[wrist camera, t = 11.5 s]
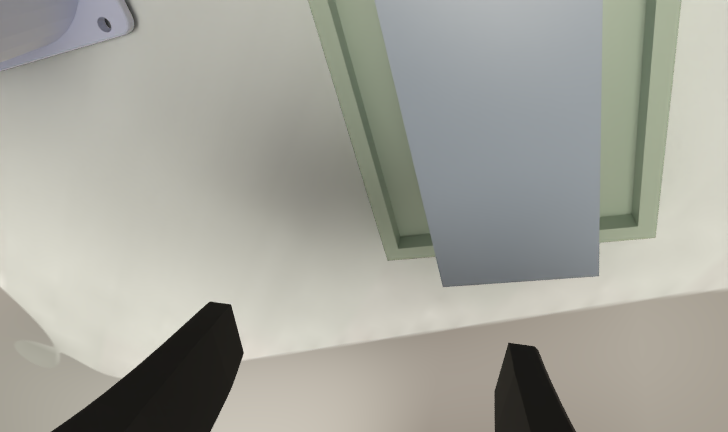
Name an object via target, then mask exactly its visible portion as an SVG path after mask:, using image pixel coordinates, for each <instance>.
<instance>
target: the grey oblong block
mask: <svg viewBox="0 0 728 432" xmlns="http://www.w3.org/2000/svg"><path fill="white" fill-rule="evenodd" d="M375 5H376V9H377V13H378V17H379V21H380V26H381V30H382V34H383V38H384V42H385V46H386V51H387V55H388V59H389V63H390V67H391V72H392V76H393V80H394V84H395V88H396V92H397V97H398V101H399V105H400V109H401V113H402V118H403V122H404V126H405V130H406V134H407V138H408V143H409V147H410V151H411V155H412V159H413V164H414V168H415V172H416V176H417V180H418V185H419V189H420V193H421V197H422V201H423V205H424V210H425V214H426V218H427V222H428V226H429V231H430V235H431V239H432V243H433V247H434V251H435V256H436V260H437V264H438V268H439V272H440V277H441V281H442V285H443V287H450V286H465V285H479V284H493V283H508V282H522V281H536V280H551V279H565V278H579V277H593V276H599V225H600V155H601V86H602V17H603V0H375Z"/></svg>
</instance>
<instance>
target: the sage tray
mask: <svg viewBox="0 0 728 432" xmlns="http://www.w3.org/2000/svg"><path fill="white" fill-rule="evenodd" d="M308 2H309V5H310V9H311V12H312V15H313V18H314V22H315V25H316V28H317V31H318V35H319V38H320V41H321V45H322V48H323V51H324V54H325V58H326V61H327V64H328V67H329V71H330V74H331V77H332V80H333V84H334V87H335V90H336V93H337V97H338V100H339V103H340V107H341V110H342V113H343V116H344V120H345V123H346V126H347V129H348V133H349V136H350V139H351V142H352V146H353V149H354V152H355V155H356V159H357V162H358V165H359V169H360V172H361V175H362V178H363V182H364V185H365V188H366V191H367V195H368V198H369V201H370V204H371V208H372V211H373V214H374V217H375V221H376V224H377V227H378V231H379V234H380V237H381V240H382V244H383V247H384V250H385V253H386V257H387V260H388V261H390V260H402V259H413V258H425V257H436V256H435V251H434V247H433V243H432V239H431V235H430V231H429V226H428V222H427V218H426V214H425V210H424V205H423V201H422V197H421V193H420V189H419V185H418V180H417V176H416V172H415V168H414V164H413V159H412V155H411V151H410V147H409V143H408V138H407V134H406V130H405V126H404V122H403V118H402V113H401V109H400V105H399V101H398V97H397V92H396V88H395V84H394V80H393V76H392V72H391V67H390V63H389V59H388V55H387V51H386V46H385V42H384V38H383V34H382V30H381V26H380V21H379V17H378V13H377V9H376V5H375V0H308ZM680 8H681V0H603V17H602V86H601V155H600V225H599V243H601V242H612V241H624V240H636V239H648V238H655V237H656V228H657V219H658V210H659V201H660V192H661V182H662V173H663V164H664V155H665V146H666V137H667V127H668V118H669V109H670V100H671V91H672V82H673V73H674V63H675V54H676V45H677V36H678V27H679V18H680Z"/></svg>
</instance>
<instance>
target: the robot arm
mask: <svg viewBox="0 0 728 432" xmlns="http://www.w3.org/2000/svg"><path fill="white" fill-rule="evenodd" d="M104 18H106V19H107V20H108V21H109V22H110V24H111V29H110V28H108V26H107V25H106V24H105V21H104ZM133 28H134V20H133V17H132V15H131V13H130V11H129V9H128V7H127V5H126V3H125V1H124V0H0V71H4V70H7V69H11V68H14V67H17V66H21V65H24V64H28V63H31V62H34V61H38V60H41V59H45V58H48V57H52V56H55V55H58V54H62V53H65V52H69V51H72V50H75V49H79V48H82V47H86V46H89V45H92V44H96V43H99V42H103V41H106V40H109V39H113V38H116V37H120V36H123V35H126V34H128V33H130V32H131V31H132V30H133ZM243 354H244V352H243V348H242V345H241V341H240V337H239V333H238V329H237V326H236V322H235V318H234V314H233V310H232V306H231V305H230V304H223V303H216V302H209V303H208V304H206V305H205V306H204V307H203V308H202V309H201V310H200V311H199V312H198V313H196V314H195V315H194V316H193V317H192V318H191V319H190V320H189V321H188V322H187V323H185V324H184V325H183V326H182V327H181V328H180V329H179V330H178V331H177V332H176V333H174V334H173V335H172V336H171V337H170V338H169V339H168V340H167V341H166V342H165V343H163V344H162V345H161V346H160V347H159V348H158V349H157V350H155V351H154V352H153V353H152V354H151V355H150V356H148V357H147V358H146V359H145V360H144V361H143V362H142V363H140V364H139V365H138V366H137V367H136V368H135V369H133V370H132V371H131V372H130V373H128V374H127V375H126V376H125V377H124V378H122V379H121V380H120V381H119V382H117V383H116V384H115V385H114V386H112V387H111V388H110V389H109V390H108V391H106V392H105V393H104V394H102V395H101V396H100V397H99V398H97V399H96V400H95V401H93V402H92V403H91V404H89V405H88V406H87V407H85V408H84V409H83V410H81V411H80V412H79V413H77V414H76V415H74V416H73V417H72V418H71V419H69V420H67V421H66V422H64V423H63V424H62V425H60V426H59V427H57V428H56V429H54V430H53V431H52V432H210V431H211V429H212V427H213V425H214V423H215V421H216V419H217V417H218V415H219V413H220V411H221V409H222V407H223V405H224V403H225V401H226V399H227V397H228V394H229V392H230V390H231V388H232V385H233V382H234V380H235V377H236V374H237V371H238V368H239V365H240V362H241V359H242V357H243ZM495 432H576V431H575V429H574V427H573V425H572V424H571V422H570V420H569V418H568V416H567V414H566V412H565V410H564V408H563V406H562V404H561V402H560V400H559V397H558V395H557V393H556V391H555V389H554V387H553V384H552V383H551V380H550V378H549V376H548V373H547V371H546V369H545V366H544V364H543V361H542V359H541V356H540V354H539V351H538V350H537V349H536V347H534V346H527V345H520V344H513V343H508V347H507V350H506V354H505V358H504V361H503V364H502V368H501V371H500V375H499V378H498V382H497V386H496V389H495Z"/></svg>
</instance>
